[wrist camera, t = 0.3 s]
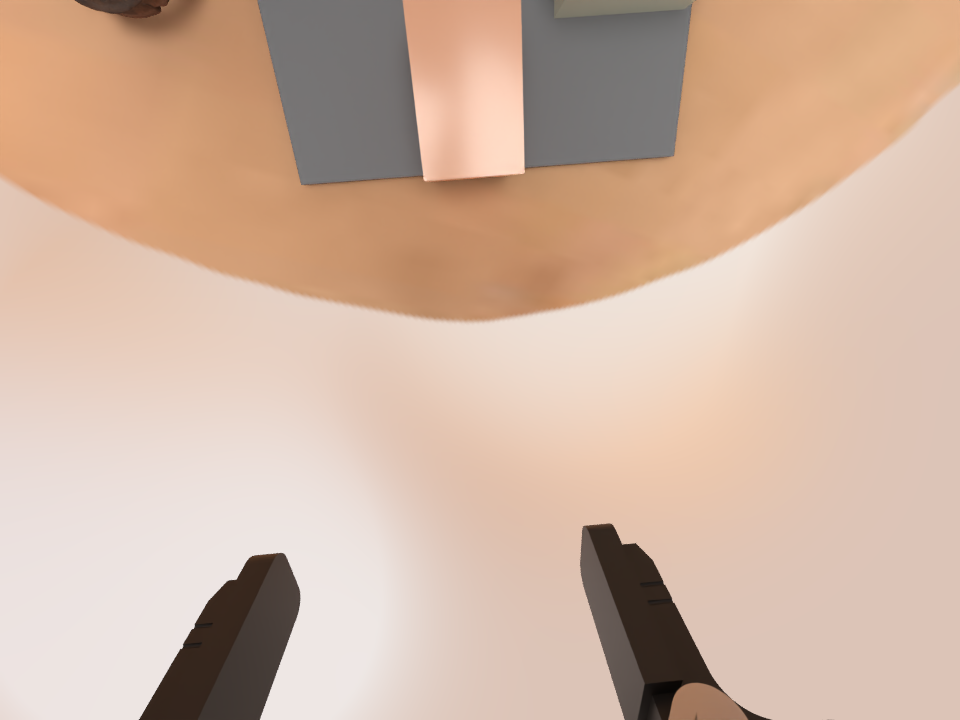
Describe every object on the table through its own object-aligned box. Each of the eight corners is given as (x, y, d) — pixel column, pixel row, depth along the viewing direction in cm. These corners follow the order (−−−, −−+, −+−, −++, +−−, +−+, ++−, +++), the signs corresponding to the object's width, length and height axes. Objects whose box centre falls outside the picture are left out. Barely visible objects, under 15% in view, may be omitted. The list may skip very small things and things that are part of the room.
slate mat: (240, -97, 24) (231, -107, 23) (699, -126, 25) (708, -137, 24) (305, 184, 31) (301, 184, 30) (667, 156, 31) (673, 155, 31)
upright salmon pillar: (416, 37, 27) (400, -18, 19) (503, 31, 27) (520, -26, 20) (431, 181, 30) (424, 180, 23) (508, 175, 31) (524, 173, 23)
